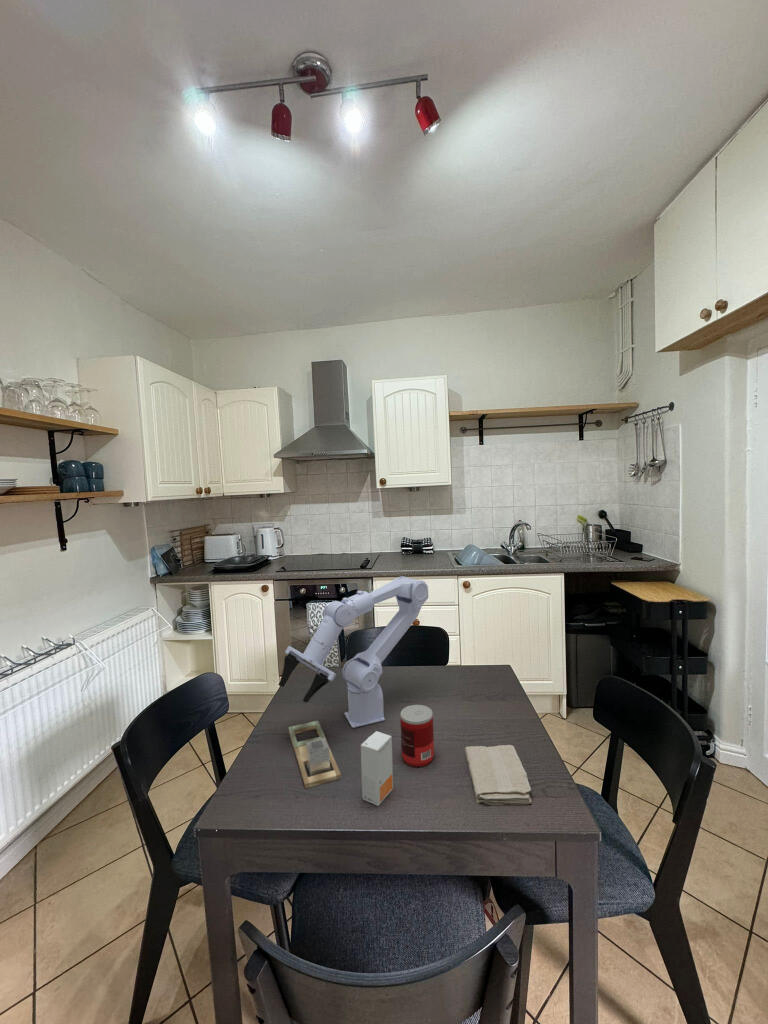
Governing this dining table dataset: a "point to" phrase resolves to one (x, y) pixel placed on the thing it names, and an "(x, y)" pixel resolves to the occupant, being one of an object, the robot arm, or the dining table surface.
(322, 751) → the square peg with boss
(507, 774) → the washcloth
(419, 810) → the dining table surface
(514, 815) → the dining table surface
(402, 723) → the canned food
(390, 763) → the skincare box
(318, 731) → the wooden peg board
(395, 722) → the dining table surface
